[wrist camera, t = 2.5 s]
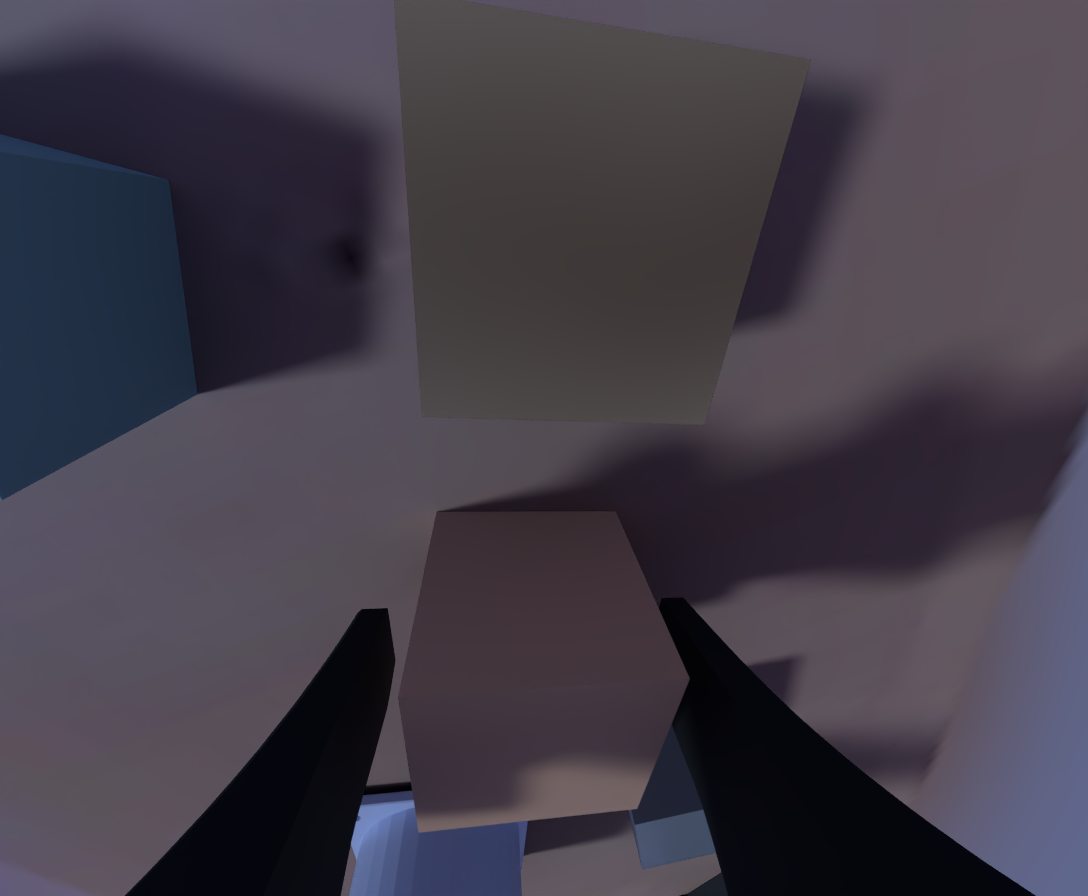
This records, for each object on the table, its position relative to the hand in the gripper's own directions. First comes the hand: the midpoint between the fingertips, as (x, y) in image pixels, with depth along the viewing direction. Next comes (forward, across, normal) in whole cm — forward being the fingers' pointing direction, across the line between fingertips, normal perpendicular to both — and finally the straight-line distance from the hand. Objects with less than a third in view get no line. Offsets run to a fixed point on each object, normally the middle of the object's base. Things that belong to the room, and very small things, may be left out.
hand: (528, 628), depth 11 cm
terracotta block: (+2, 0, 0) cm, 2 cm away
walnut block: (+2, 0, -9) cm, 9 cm away
